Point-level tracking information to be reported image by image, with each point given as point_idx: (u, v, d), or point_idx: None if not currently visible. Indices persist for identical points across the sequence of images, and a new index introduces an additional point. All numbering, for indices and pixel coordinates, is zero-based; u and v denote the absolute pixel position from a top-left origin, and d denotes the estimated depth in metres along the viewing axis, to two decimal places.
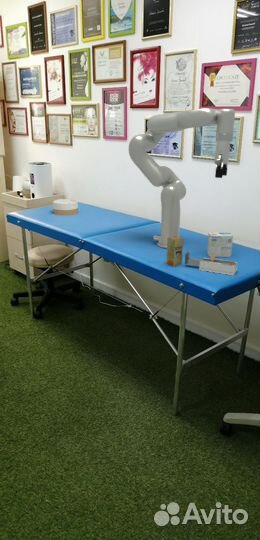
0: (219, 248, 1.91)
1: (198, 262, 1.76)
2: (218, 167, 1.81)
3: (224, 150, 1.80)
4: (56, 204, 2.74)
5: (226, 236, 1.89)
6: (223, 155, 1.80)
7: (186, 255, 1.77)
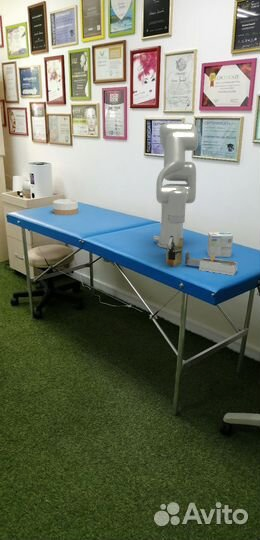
0: (219, 248, 1.91)
1: (198, 262, 1.76)
2: (170, 250, 1.76)
3: (175, 233, 1.73)
4: (56, 204, 2.74)
5: (226, 236, 1.89)
6: (174, 237, 1.73)
7: (186, 255, 1.77)
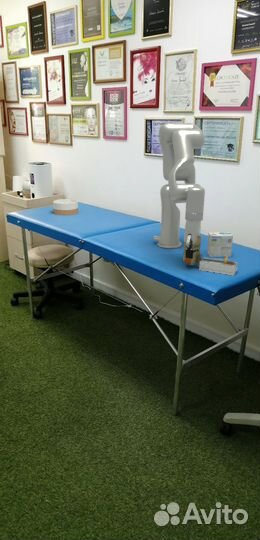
0: (219, 248, 1.91)
1: None
2: (188, 248, 1.72)
3: (193, 231, 1.69)
4: (56, 204, 2.74)
5: (226, 236, 1.89)
6: (192, 235, 1.70)
7: (199, 257, 1.75)
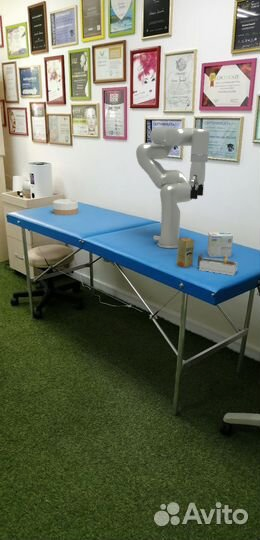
0: (219, 248, 1.91)
1: None
2: (193, 188, 1.77)
3: (198, 171, 1.76)
4: (56, 204, 2.74)
5: (226, 236, 1.89)
6: (198, 176, 1.76)
7: (199, 257, 1.75)
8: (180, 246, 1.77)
